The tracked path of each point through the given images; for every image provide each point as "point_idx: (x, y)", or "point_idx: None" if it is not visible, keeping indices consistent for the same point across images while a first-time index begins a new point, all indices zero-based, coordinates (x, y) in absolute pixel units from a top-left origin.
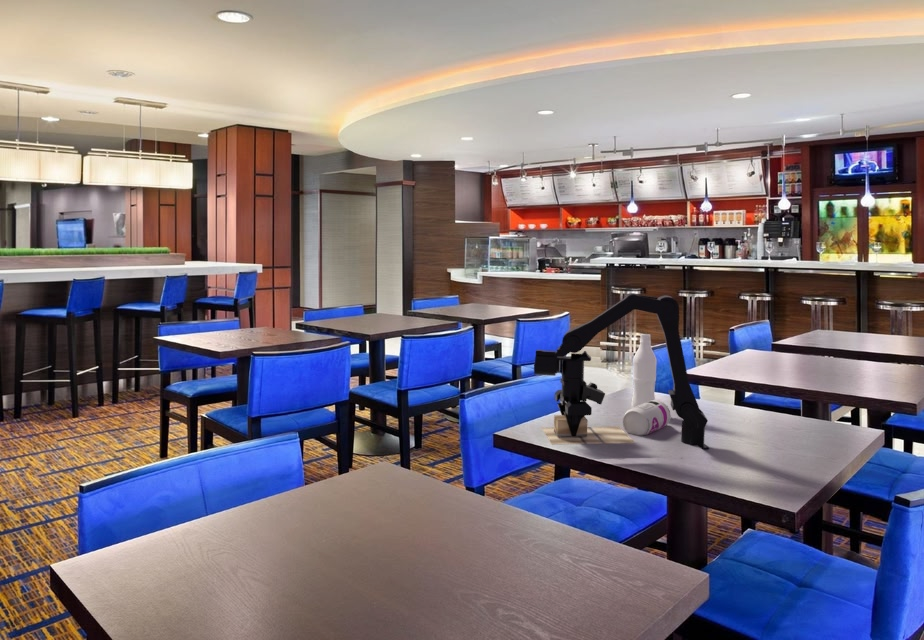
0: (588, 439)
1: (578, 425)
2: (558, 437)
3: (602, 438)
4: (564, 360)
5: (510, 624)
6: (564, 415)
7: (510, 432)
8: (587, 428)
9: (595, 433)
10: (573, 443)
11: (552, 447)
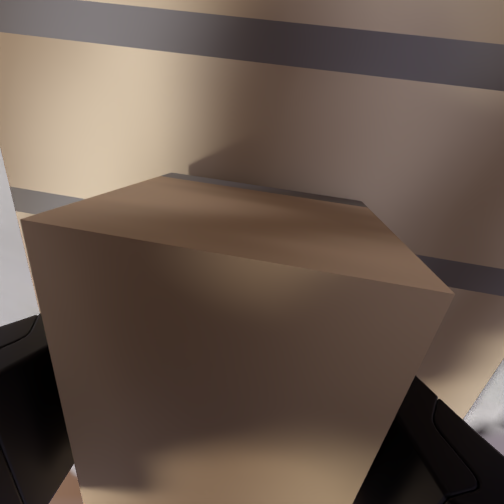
0: (433, 212)
1: (430, 399)
2: None
3: (469, 17)
4: None
5: None
6: (97, 482)
7: None
8: (33, 57)
9: (231, 31)
10: (484, 372)
11: None
